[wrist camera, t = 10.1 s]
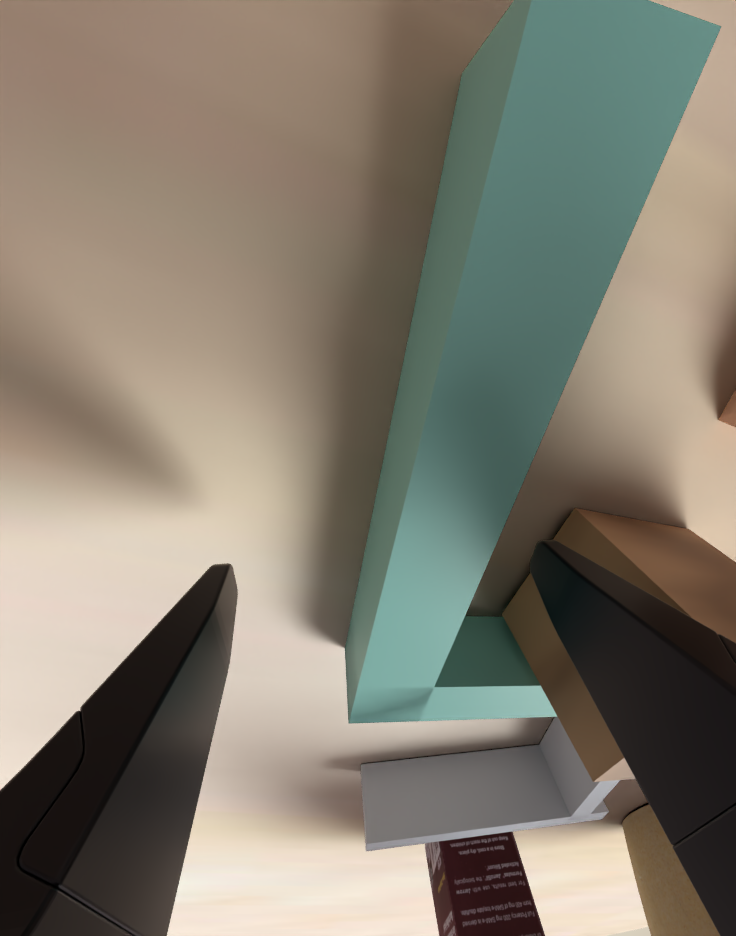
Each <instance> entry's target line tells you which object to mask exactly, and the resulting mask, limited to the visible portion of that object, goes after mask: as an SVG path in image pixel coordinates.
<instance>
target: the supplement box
mask: <svg viewBox="0 0 736 936" xmlns="http://www.w3.org/2000/svg"><path fill="white" fill-rule="evenodd" d="M425 850H426V857H427V863H428V869H429V876H430V882H431V888H432V894H433V900H434V906H435V912H436V918H437V924H438V930H439V936H545V934H544V931H543V928H542V925H541V922H540V918H539V915H538V912H537V909H536V906H535V903H534V899H533V896H532V893H531V890H530V886H529V883H528V880H527V877H526V874H525V870H524V867H523V864H522V861H521V858H520V854H519V851H518V848H517V844H516V841H515V838H514V835H513V832H504V833H497V834H490V835H482V836H475V837H468V838H460V839H453V840H446V841H438V842H431V843H425Z"/></svg>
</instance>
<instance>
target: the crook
mask: <svg viewBox="0 0 736 936" xmlns="http://www.w3.org/2000/svg"><path fill="white" fill-rule="evenodd" d="M720 28H721V26H718V25H716V24H713V23H710V22H707V21H705V20H702V19H699V18H696V17H693V16H691V15H688V14H685V13H682V12H679V11H677V10H674V9H671V8H668V7H666V6H663V5H660V4H657V3H654V2H652V1H649V0H514V1H513V2H512V4H511V5H510V7H509V8H508V9H507V11H506V12H505V14H504V15H503V16H502V18H501V19H500V21H499V22H498V23H497V25H496V26H495V28H494V29H493V30H492V32H491V33H490V35H489V36H488V37H487V39H486V40H485V42H484V43H483V44H482V46H481V47H480V49H479V50H478V51H477V53H476V54H475V56H474V57H473V59H472V60H471V61H470V63H469V64H468V66H467V67H466V68H465V70H464V71H463V73H462V76H461V81H460V86H459V91H458V96H457V100H456V105H455V110H454V115H453V120H452V125H451V130H450V135H449V140H448V145H447V150H446V154H445V159H444V164H443V169H442V174H441V179H440V184H439V189H438V194H437V199H436V204H435V208H434V213H433V218H432V223H431V228H430V233H429V238H428V243H427V248H426V253H425V258H424V262H423V267H422V272H421V277H420V282H419V287H418V292H417V297H416V302H415V307H414V312H413V316H412V321H411V326H410V331H409V336H408V341H407V346H406V351H405V356H404V361H403V366H402V370H401V375H400V380H399V385H398V390H397V395H396V400H395V405H394V410H393V415H392V420H391V424H390V429H389V434H388V439H387V444H386V449H385V454H384V459H383V464H382V469H381V474H380V478H379V483H378V488H377V493H376V498H375V503H374V508H373V513H372V518H371V523H370V528H369V532H368V537H367V542H366V547H365V552H364V557H363V562H362V567H361V572H360V577H359V582H358V586H357V591H356V596H355V601H354V606H353V611H352V616H351V621H350V626H349V631H348V636H347V640H346V645H345V659H346V680H347V701H348V721H349V723H376V722H406V721H437V720H468V719H499V718H530V717H557V715H556V713H555V711H554V709H553V707H552V706H551V704H550V702H549V700H548V698H547V696H546V694H545V693H544V691H543V689H542V687H541V685H540V683H539V682H538V680H537V678H536V676H535V674H534V672H533V671H532V669H531V667H530V665H529V663H528V661H527V660H526V658H525V656H524V654H523V652H522V650H521V649H520V647H519V645H518V643H517V641H516V639H515V638H514V636H513V634H512V632H511V630H510V628H509V627H508V625H507V623H506V621H505V619H504V617H491V616H465V615H466V613H467V610H468V608H469V606H470V603H471V601H472V599H473V597H474V594H475V592H476V590H477V587H478V585H479V583H480V580H481V578H482V576H483V574H484V571H485V569H486V567H487V564H488V562H489V560H490V557H491V555H492V553H493V551H494V548H495V546H496V544H497V541H498V539H499V537H500V534H501V532H502V530H503V528H504V525H505V523H506V521H507V518H508V516H509V514H510V511H511V509H512V507H513V505H514V502H515V500H516V498H517V495H518V493H519V491H520V488H521V486H522V484H523V482H524V479H525V477H526V475H527V472H528V470H529V468H530V465H531V463H532V461H533V459H534V456H535V454H536V452H537V449H538V447H539V445H540V442H541V440H542V438H543V436H544V433H545V431H546V429H547V426H548V424H549V422H550V419H551V417H552V415H553V413H554V410H555V408H556V406H557V403H558V401H559V399H560V396H561V394H562V392H563V390H564V387H565V385H566V383H567V380H568V378H569V376H570V373H571V371H572V369H573V367H574V364H575V362H576V360H577V357H578V355H579V353H580V350H581V348H582V346H583V344H584V341H585V339H586V337H587V334H588V332H589V330H590V327H591V325H592V323H593V321H594V318H595V316H596V314H597V311H598V309H599V307H600V304H601V302H602V300H603V298H604V295H605V293H606V291H607V288H608V286H609V284H610V281H611V279H612V277H613V275H614V272H615V270H616V268H617V265H618V263H619V261H620V258H621V256H622V254H623V252H624V249H625V247H626V245H627V242H628V240H629V238H630V235H631V233H632V231H633V229H634V226H635V224H636V222H637V219H638V217H639V215H640V212H641V210H642V208H643V206H644V203H645V201H646V199H647V196H648V194H649V192H650V189H651V187H652V185H653V183H654V180H655V178H656V176H657V173H658V171H659V169H660V166H661V164H662V162H663V160H664V157H665V155H666V153H667V150H668V148H669V146H670V143H671V141H672V139H673V137H674V134H675V132H676V130H677V127H678V125H679V123H680V120H681V118H682V116H683V114H684V111H685V109H686V107H687V104H688V102H689V100H690V97H691V95H692V93H693V91H694V88H695V86H696V84H697V81H698V79H699V77H700V74H701V72H702V70H703V68H704V65H705V63H706V61H707V58H708V56H709V54H710V51H711V49H712V47H713V45H714V42H715V40H716V38H717V35H718V33H719V31H720Z"/></svg>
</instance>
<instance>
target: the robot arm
mask: <svg viewBox="0 0 736 936" xmlns="http://www.w3.org/2000/svg"><path fill="white" fill-rule="evenodd" d="M529 567H530V572H531V575H532V577H533V580H534V582H535V584H536V587H537V589H538V591H539V594H540V596H541V599H542V601H543V603H544V606H545V608H546V610H547V613H548V615H549V618H550V620H551V622H552V624H553V626H554V628H555V630H556V632H557V634H558V636H559V638H560V640H561V642H562V644H563V645H564V647H565V649H566V651H567V653H568V655H569V657H570V658H571V660H572V662H573V664H574V666H575V668H576V669H577V671H578V673H579V675H580V677H581V679H582V681H583V682H584V684H585V686H586V688H587V690H588V692H589V694H590V695H591V697H592V699H593V701H594V703H595V705H596V706H597V708H598V710H599V712H600V714H601V716H602V718H603V719H604V721H605V723H606V725H607V727H608V729H609V731H610V732H611V734H612V736H613V738H614V740H615V742H616V744H617V745H618V747H619V749H620V751H621V753H622V755H623V756H624V758H625V760H626V762H627V764H628V766H629V768H630V769H631V771H632V773H633V775H634V777H635V779H636V781H637V782H638V784H639V786H640V788H641V790H642V792H643V793H644V795H645V797H646V799H647V801H648V803H649V805H650V806H651V808H652V810H653V812H654V814H655V816H656V818H657V819H658V821H659V823H660V825H661V827H662V829H663V831H664V832H665V834H666V836H667V838H668V840H669V842H670V843H671V844H672V845H673V850H674V851H675V853H676V855H677V857H678V859H679V861H680V863H681V864H682V866H683V868H684V870H685V872H686V874H687V875H688V877H689V879H690V881H691V883H692V885H693V887H694V888H695V890H696V892H697V894H698V896H699V898H700V900H701V901H702V903H703V905H704V907H705V909H706V911H707V912H708V914H709V916H710V918H711V920H712V922H713V924H714V925H715V927H716V929H717V931H718V933H719V935H720V936H736V643H735V642H733V641H732V640H730V639H728V638H726V637H725V636H723V635H721V634H717V632H716V631H714V630H712V629H710V628H709V627H707V626H705V625H703V624H702V623H700V622H698V621H696V620H695V619H693V618H691V617H689V616H688V615H686V614H684V613H682V612H681V611H679V610H677V609H675V608H674V607H672V606H670V605H668V604H667V603H665V602H663V601H661V600H660V599H658V598H656V597H654V596H653V595H651V594H649V593H647V592H646V591H644V590H642V589H640V588H639V587H637V586H635V585H633V584H632V583H630V582H628V581H626V580H625V579H623V578H621V577H619V576H618V575H616V574H614V573H612V572H611V571H609V570H607V569H605V568H604V567H602V566H600V565H598V564H597V563H595V562H593V561H591V560H590V559H588V558H586V557H584V556H583V555H581V554H579V553H577V552H575V551H574V550H572V549H570V548H568V547H567V546H565V545H563V544H561V543H560V542H558V541H556V540H542V541H539V542H538V543H537V544H536V547H535V550H534V552H533V555H532V558H531V560H530V565H529ZM237 595H238V590H237V584H236V580H235V575H234V571H233V567H232V565H231V564H215V565H212V566H211V567H210V568H209V569H208V570H207V571H206V572H205V573H204V574H203V575H202V577H201V578H200V579H199V580H198V581H197V582H196V583H195V584H194V585H193V586H192V587H191V588H190V589H189V591H188V592H187V593H186V594H185V595H184V596H183V597H182V598H181V599H180V600H179V601H178V602H177V604H176V605H175V606H174V607H173V608H172V609H171V610H170V611H169V612H168V613H167V614H166V615H165V616H164V618H163V619H162V620H161V621H160V622H159V623H158V624H157V625H156V626H155V627H154V628H153V629H152V631H151V632H150V633H149V634H148V635H147V636H146V637H145V638H144V639H143V640H142V641H141V642H140V643H139V645H138V646H137V647H136V648H135V649H134V650H133V651H132V652H131V653H130V654H129V655H128V656H127V658H126V659H125V660H124V661H123V662H122V663H121V664H120V665H119V666H118V667H117V668H116V669H115V670H114V672H113V673H112V674H111V675H110V676H109V677H108V678H107V679H106V680H105V681H104V682H103V683H102V685H101V686H100V687H99V688H98V689H97V690H96V691H95V692H94V693H93V694H92V695H91V696H90V697H89V699H88V700H87V701H86V702H85V703H84V704H83V705H82V706H81V709H80V710H81V711H77V712H75V713H74V715H73V716H72V717H71V718H70V719H69V720H68V721H67V722H66V723H65V724H64V725H63V726H62V727H61V729H60V730H59V731H58V732H57V733H56V734H55V735H54V736H53V737H52V738H51V739H50V740H49V741H48V742H47V743H46V744H45V745H44V746H43V748H42V749H41V750H40V751H39V752H38V753H37V754H36V755H35V756H34V757H33V758H32V759H31V760H30V761H29V762H28V763H27V764H26V765H25V766H24V767H23V768H22V769H21V770H20V771H19V772H18V773H17V774H16V775H15V776H14V777H13V778H12V779H11V780H10V781H9V782H8V783H7V784H6V785H5V786H4V787H3V788H2V789H1V790H0V936H167V932H168V927H169V923H170V919H171V914H172V910H173V906H174V901H175V897H176V893H177V888H178V884H179V880H180V875H181V871H182V867H183V863H184V858H185V854H186V850H187V845H188V841H189V837H190V832H191V828H192V824H193V819H194V815H195V811H196V806H197V802H198V798H199V794H200V789H201V785H202V781H203V776H204V772H205V768H206V763H207V759H208V755H209V750H210V746H211V742H212V738H213V733H214V729H215V725H216V720H217V716H218V712H219V707H220V703H221V699H222V694H223V690H224V686H225V681H226V677H227V673H228V668H229V663H230V656H231V648H232V640H233V631H234V622H235V614H236V605H237Z"/></svg>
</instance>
